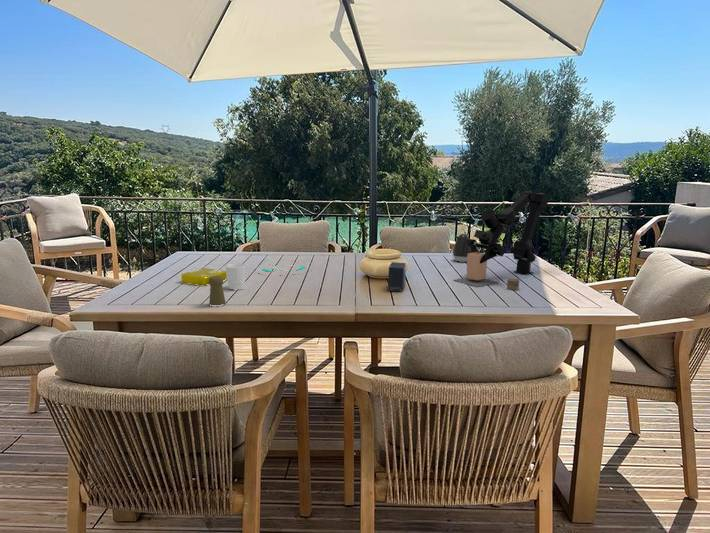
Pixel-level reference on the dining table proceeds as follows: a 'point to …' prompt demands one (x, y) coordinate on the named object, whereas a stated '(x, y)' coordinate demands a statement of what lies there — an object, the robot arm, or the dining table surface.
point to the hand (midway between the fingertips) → (474, 261)
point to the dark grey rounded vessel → (461, 248)
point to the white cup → (236, 276)
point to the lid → (281, 268)
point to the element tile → (202, 276)
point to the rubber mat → (476, 282)
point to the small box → (396, 276)
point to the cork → (216, 290)
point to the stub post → (512, 284)
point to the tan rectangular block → (476, 266)
